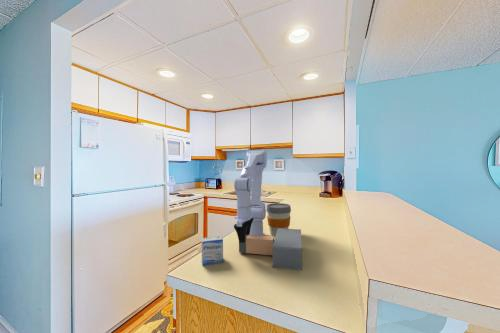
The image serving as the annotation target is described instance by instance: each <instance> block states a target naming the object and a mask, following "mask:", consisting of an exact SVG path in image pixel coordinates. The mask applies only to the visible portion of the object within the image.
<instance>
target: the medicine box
mask: <svg viewBox="0 0 500 333" xmlns="http://www.w3.org/2000/svg"><path fill="white" fill-rule="evenodd" d="M200 242H201V265H202V266H205V265H212V264H220V263H224V239H223V237H222V236H221V235H219V236H212V237H209V236H208V237H202V238H201V241H200Z"/></svg>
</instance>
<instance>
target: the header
mask: <svg viewBox="0 0 500 333" xmlns="http://www.w3.org/2000/svg"><path fill="white" fill-rule="evenodd" d="M272 249H273V255H272V268H274V269H286V270H292V271H293V270H296V271H303V253H302V252H303V250H302V229H297V228H296V229H295V228H288V229H283V228H278V230H277V233H276V236H275V237H274V243H273V246H272Z"/></svg>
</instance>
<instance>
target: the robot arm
mask: <svg viewBox="0 0 500 333" xmlns="http://www.w3.org/2000/svg"><path fill="white" fill-rule="evenodd" d="M267 154H268V153H267V151H266V150H265V149H263V150H247V151H246V155H245V159H246V161H247V162H246V165H245V166H244V167H243V168H242V170H241V172H240V174H239V177H236V178H235V180H234V184H233V187H234V191H235V196H236V215H235V216H234V219H236V223H234V224H233V229H234V230H235V232H236V235H237V239H238V243H239V242H242V243H244V242H245V238H246V235H258V236H266V233H265V232H264V221H263V220H265V218H266V217H267V216H266V215H267V208H266V204H265V203H264V202H263V201H262V200H261V198H262V197H261V196H262V181H263V180H262V179H263V172H264V169H265V168H266V167H267V166H268V165H267V163H268V162H267V161H268V155H267Z"/></svg>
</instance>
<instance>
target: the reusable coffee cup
mask: <svg viewBox="0 0 500 333" xmlns="http://www.w3.org/2000/svg"><path fill="white" fill-rule="evenodd" d="M291 212H292V209H291V204H288V203H278V202H277V203H275V202H274V203H269V204H267V205H266V214H267V216H266V219H267V225H268V227H269V234H270V235H269V236H273V237H274V238H275V236H276V233H277V230H278V228H283V229H290V228H289V227H290V225H291Z"/></svg>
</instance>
